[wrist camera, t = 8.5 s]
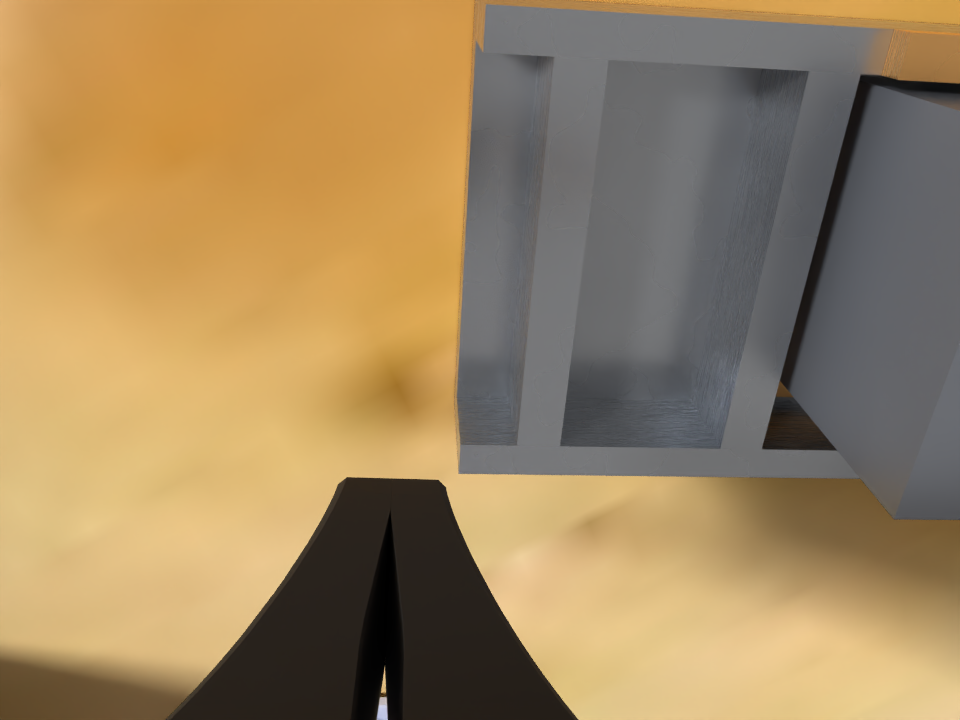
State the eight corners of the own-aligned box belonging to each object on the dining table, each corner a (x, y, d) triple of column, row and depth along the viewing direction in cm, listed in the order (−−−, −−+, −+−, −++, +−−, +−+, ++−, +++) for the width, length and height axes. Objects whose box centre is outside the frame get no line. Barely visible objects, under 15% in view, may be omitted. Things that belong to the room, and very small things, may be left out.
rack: (1081, 416, 23) (1194, 497, 19) (454, 403, 21) (459, 489, 18) (1256, 43, 18) (1444, 65, 15) (475, -6, 17) (488, 6, 13)
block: (860, 369, 20) (1015, 520, 15) (769, 367, 20) (893, 519, 15) (951, 81, 17) (1190, 142, 12) (843, 75, 17) (1037, 134, 12)
